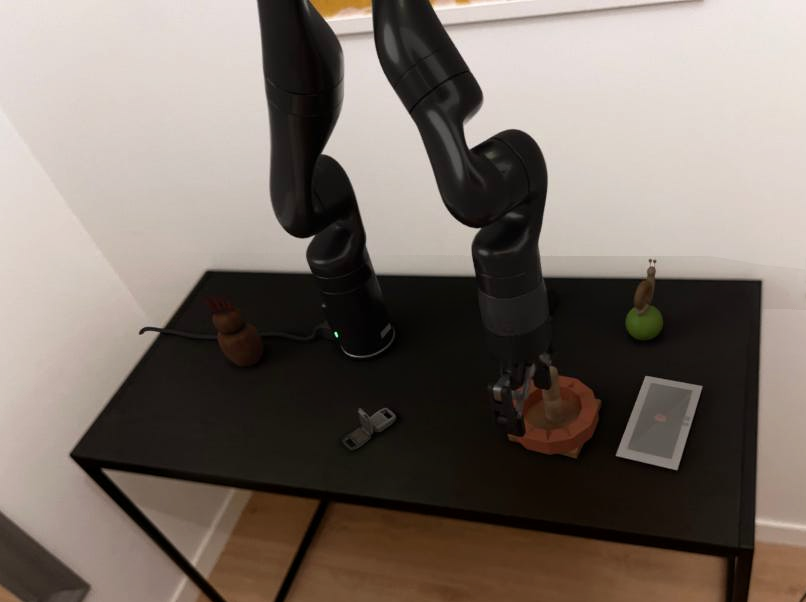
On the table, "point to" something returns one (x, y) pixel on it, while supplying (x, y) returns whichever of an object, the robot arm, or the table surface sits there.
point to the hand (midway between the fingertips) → (530, 410)
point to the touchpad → (660, 422)
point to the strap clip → (369, 427)
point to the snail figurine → (645, 310)
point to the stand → (554, 411)
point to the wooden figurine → (235, 333)
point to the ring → (569, 435)
